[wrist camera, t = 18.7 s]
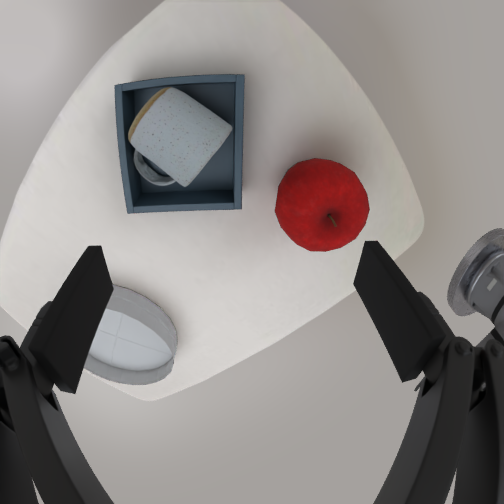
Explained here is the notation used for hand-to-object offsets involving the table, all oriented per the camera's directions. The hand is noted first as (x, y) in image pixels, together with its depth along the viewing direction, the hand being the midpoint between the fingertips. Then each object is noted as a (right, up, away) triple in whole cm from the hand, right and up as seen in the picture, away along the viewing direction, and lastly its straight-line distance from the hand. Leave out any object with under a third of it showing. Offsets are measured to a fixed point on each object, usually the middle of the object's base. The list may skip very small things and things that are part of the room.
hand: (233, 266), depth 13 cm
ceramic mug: (-7, +13, +15) cm, 22 cm away
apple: (+8, +9, +21) cm, 24 cm away
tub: (-7, +14, +16) cm, 22 cm away
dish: (-23, -13, +32) cm, 42 cm away
